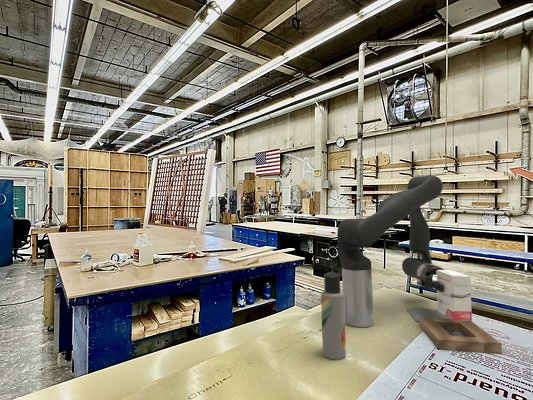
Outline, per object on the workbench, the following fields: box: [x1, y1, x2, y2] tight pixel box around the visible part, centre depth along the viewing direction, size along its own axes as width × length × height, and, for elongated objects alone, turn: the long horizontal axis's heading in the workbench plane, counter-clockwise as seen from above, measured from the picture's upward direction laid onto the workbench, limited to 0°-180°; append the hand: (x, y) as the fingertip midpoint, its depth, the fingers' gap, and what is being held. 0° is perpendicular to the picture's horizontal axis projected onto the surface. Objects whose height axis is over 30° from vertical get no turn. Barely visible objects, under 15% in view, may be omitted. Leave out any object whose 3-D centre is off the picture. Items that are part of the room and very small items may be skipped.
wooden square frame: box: [418, 317, 503, 355], centre depth 79 cm, size 14×16×2 cm
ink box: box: [436, 269, 473, 322], centre depth 80 cm, size 9×5×12 cm, turn 176°
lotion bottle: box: [320, 271, 347, 360], centre depth 72 cm, size 6×6×20 cm
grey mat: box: [405, 308, 450, 323], centre depth 96 cm, size 14×12×1 cm
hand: (454, 288), depth 79 cm, fingers closed on ink box, 5 cm apart
